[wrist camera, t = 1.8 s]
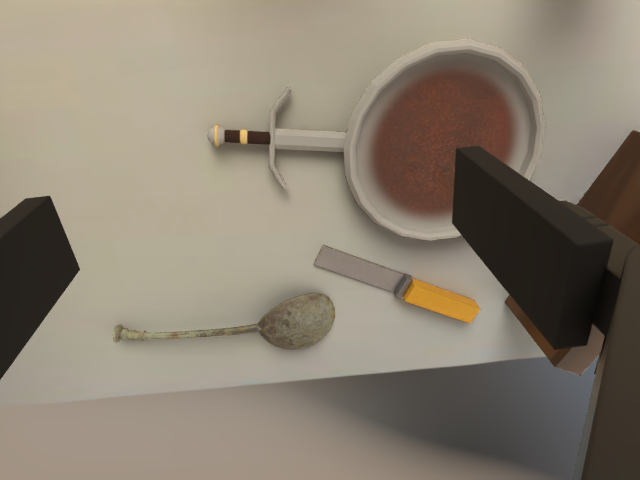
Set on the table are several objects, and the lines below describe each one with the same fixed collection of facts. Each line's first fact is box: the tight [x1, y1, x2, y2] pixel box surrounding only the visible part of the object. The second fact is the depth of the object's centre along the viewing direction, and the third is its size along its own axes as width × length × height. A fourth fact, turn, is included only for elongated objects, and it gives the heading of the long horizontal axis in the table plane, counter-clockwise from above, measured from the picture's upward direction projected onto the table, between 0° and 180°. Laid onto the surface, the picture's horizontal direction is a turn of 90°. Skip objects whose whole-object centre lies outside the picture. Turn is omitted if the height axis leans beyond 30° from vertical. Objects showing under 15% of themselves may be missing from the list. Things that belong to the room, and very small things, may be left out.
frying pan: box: [207, 39, 545, 241], centre depth 37 cm, size 17×3×28 cm
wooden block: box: [505, 130, 640, 375], centre depth 40 cm, size 3×20×10 cm, turn 155°
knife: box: [314, 245, 480, 323], centre depth 45 cm, size 18×2×2 cm, turn 66°
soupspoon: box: [113, 293, 335, 350], centre depth 45 cm, size 22×3×7 cm
